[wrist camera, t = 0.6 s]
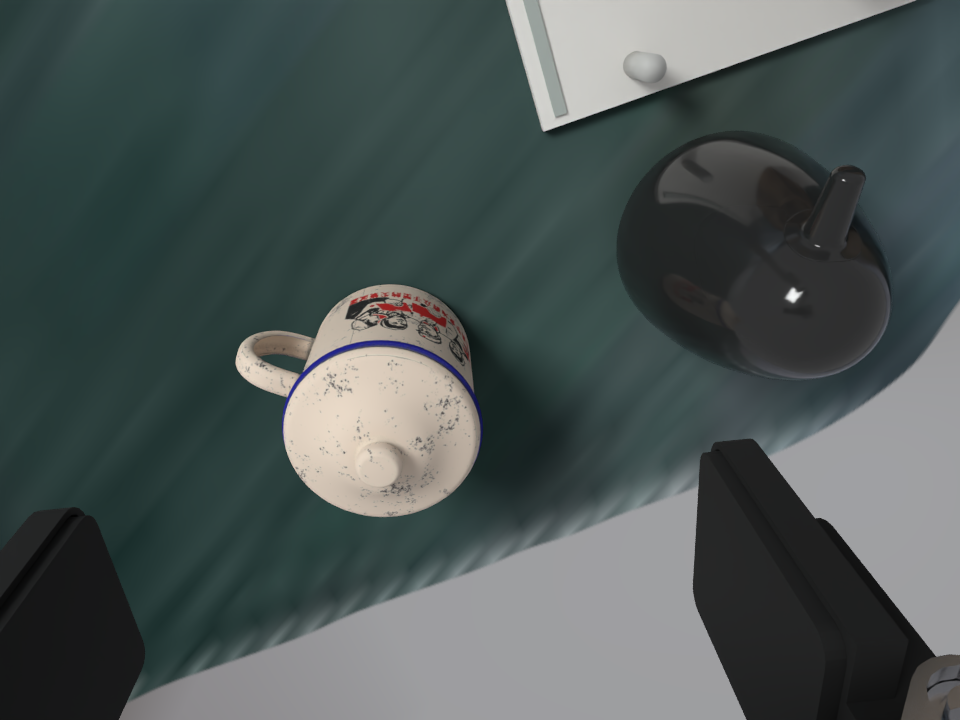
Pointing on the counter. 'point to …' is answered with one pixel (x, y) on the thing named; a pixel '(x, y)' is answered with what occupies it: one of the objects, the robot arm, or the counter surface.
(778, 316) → the dark grey egg-shaped piece
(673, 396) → the counter surface
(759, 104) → the counter surface
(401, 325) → the teacup with lid
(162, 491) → the counter surface
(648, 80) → the wall board
